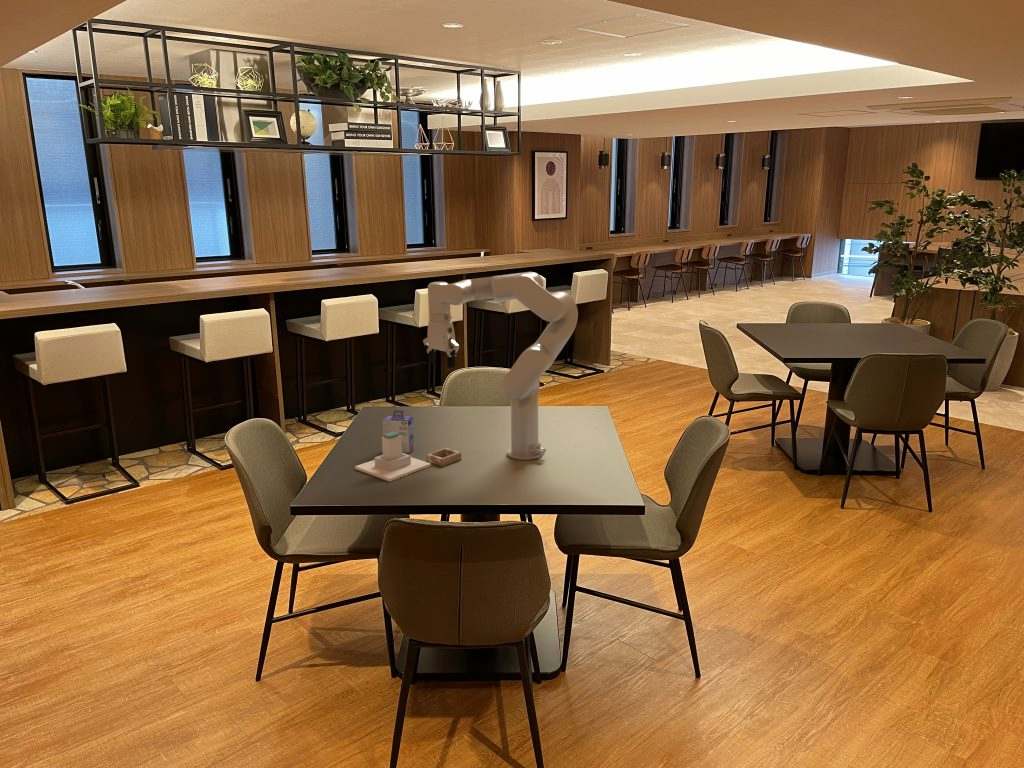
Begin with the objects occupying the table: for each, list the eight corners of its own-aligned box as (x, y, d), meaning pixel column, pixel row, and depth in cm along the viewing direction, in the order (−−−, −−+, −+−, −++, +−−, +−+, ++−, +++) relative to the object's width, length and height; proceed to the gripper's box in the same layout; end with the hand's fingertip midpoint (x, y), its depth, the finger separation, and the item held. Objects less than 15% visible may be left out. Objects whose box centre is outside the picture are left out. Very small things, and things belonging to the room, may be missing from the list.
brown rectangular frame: (461, 459, 268) (461, 452, 268) (442, 466, 262) (442, 459, 261) (445, 454, 274) (445, 447, 273) (426, 461, 267) (426, 454, 266)
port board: (431, 466, 262) (430, 455, 261) (389, 481, 249) (388, 470, 248) (396, 454, 274) (395, 444, 273) (355, 469, 261) (354, 457, 260)
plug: (402, 464, 262) (401, 433, 259) (391, 468, 258) (389, 436, 255) (395, 461, 264) (393, 430, 261) (383, 465, 261) (381, 434, 258)
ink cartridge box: (415, 448, 280) (413, 410, 277) (410, 453, 275) (408, 414, 271) (389, 447, 282) (387, 409, 279) (383, 452, 277) (381, 413, 273)
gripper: (465, 318, 267) (466, 367, 271) (430, 313, 278) (432, 360, 282) (449, 321, 261) (451, 371, 266) (415, 316, 272) (417, 364, 277)
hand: (441, 365), depth 274 cm, fingers open, 9 cm apart
